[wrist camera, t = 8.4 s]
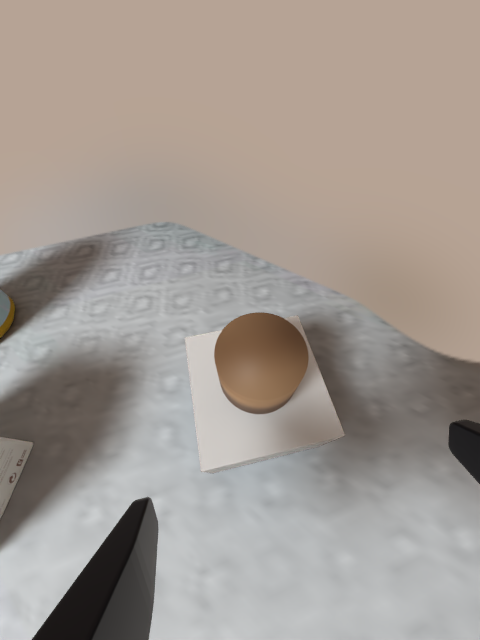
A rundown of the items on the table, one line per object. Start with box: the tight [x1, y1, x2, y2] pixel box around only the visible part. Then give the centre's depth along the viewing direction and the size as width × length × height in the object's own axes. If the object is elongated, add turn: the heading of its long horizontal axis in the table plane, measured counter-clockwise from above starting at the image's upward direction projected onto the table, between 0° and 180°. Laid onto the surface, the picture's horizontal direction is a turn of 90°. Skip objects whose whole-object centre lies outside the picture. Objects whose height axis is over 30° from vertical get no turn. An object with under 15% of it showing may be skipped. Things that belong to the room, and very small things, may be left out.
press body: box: [185, 316, 345, 473], centre depth 19 cm, size 8×8×6 cm
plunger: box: [214, 313, 309, 414], centre depth 16 cm, size 4×4×9 cm
